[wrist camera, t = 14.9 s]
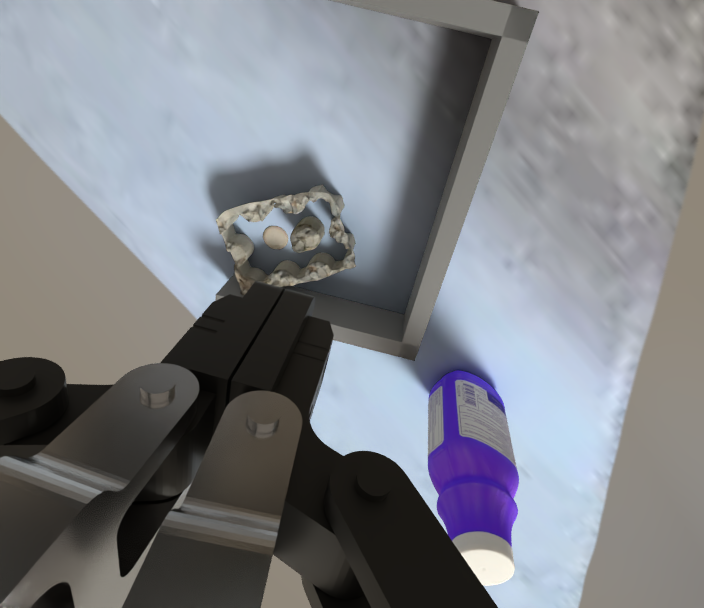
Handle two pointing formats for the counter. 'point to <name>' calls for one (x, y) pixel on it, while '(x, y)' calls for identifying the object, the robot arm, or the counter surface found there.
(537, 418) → the counter surface
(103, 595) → the robot arm
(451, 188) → the box
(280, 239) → the egg carton
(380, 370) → the counter surface
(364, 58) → the counter surface
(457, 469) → the bottle
